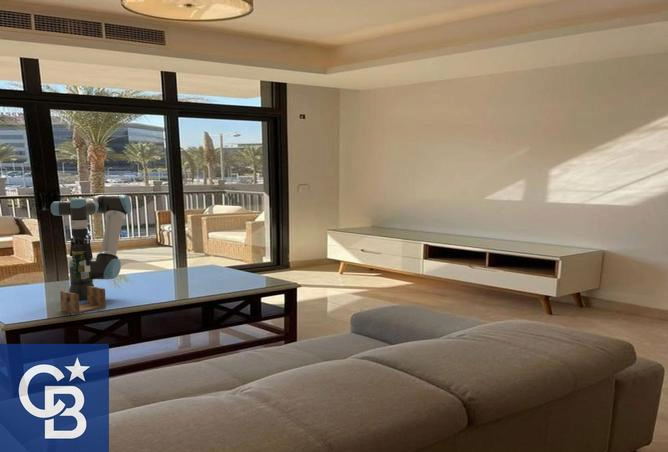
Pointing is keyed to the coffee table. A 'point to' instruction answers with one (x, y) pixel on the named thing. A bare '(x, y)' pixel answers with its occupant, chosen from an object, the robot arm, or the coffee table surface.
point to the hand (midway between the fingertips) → (81, 271)
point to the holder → (94, 303)
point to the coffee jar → (79, 262)
